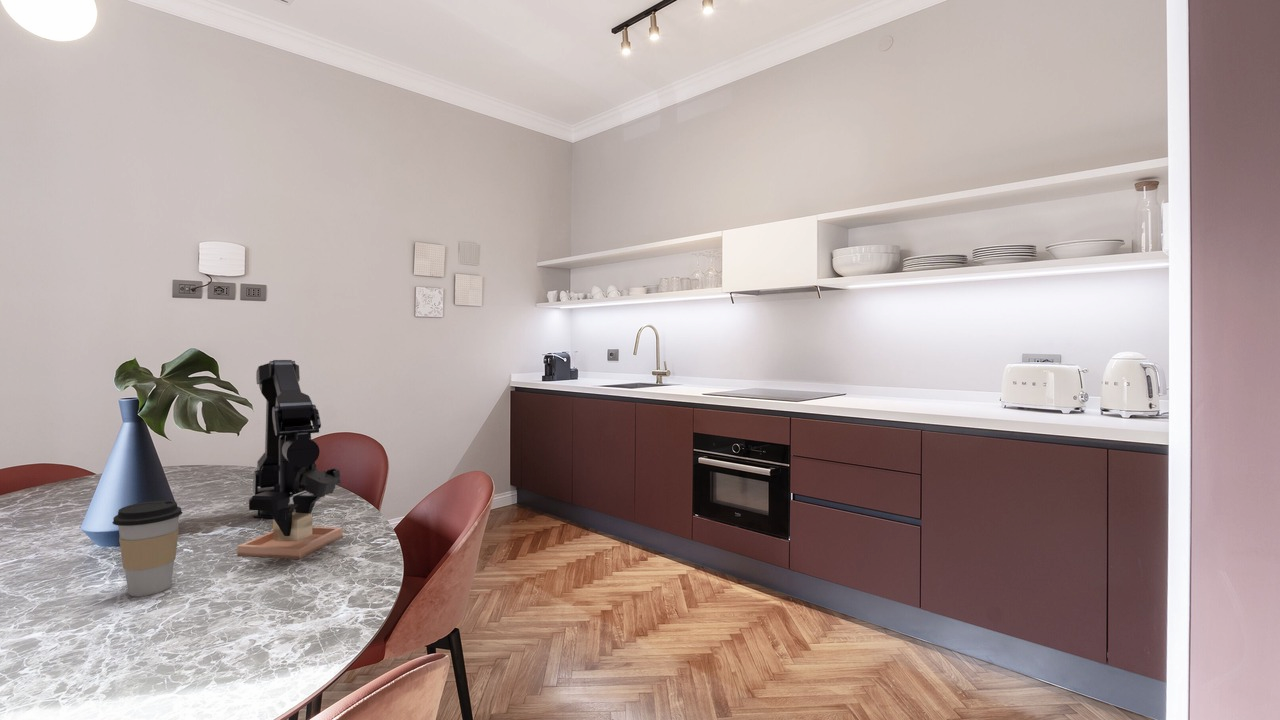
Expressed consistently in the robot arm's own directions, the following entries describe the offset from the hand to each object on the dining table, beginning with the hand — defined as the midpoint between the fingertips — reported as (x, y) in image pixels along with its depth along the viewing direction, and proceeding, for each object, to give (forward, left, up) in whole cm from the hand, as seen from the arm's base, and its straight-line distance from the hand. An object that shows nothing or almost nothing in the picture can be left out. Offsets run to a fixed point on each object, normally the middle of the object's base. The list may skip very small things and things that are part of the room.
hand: (295, 532), depth 121 cm
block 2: (0, 0, -1) cm, 1 cm away
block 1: (-6, +6, -3) cm, 9 cm away
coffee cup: (-12, -21, -4) cm, 25 cm away
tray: (-3, +3, -4) cm, 6 cm away
